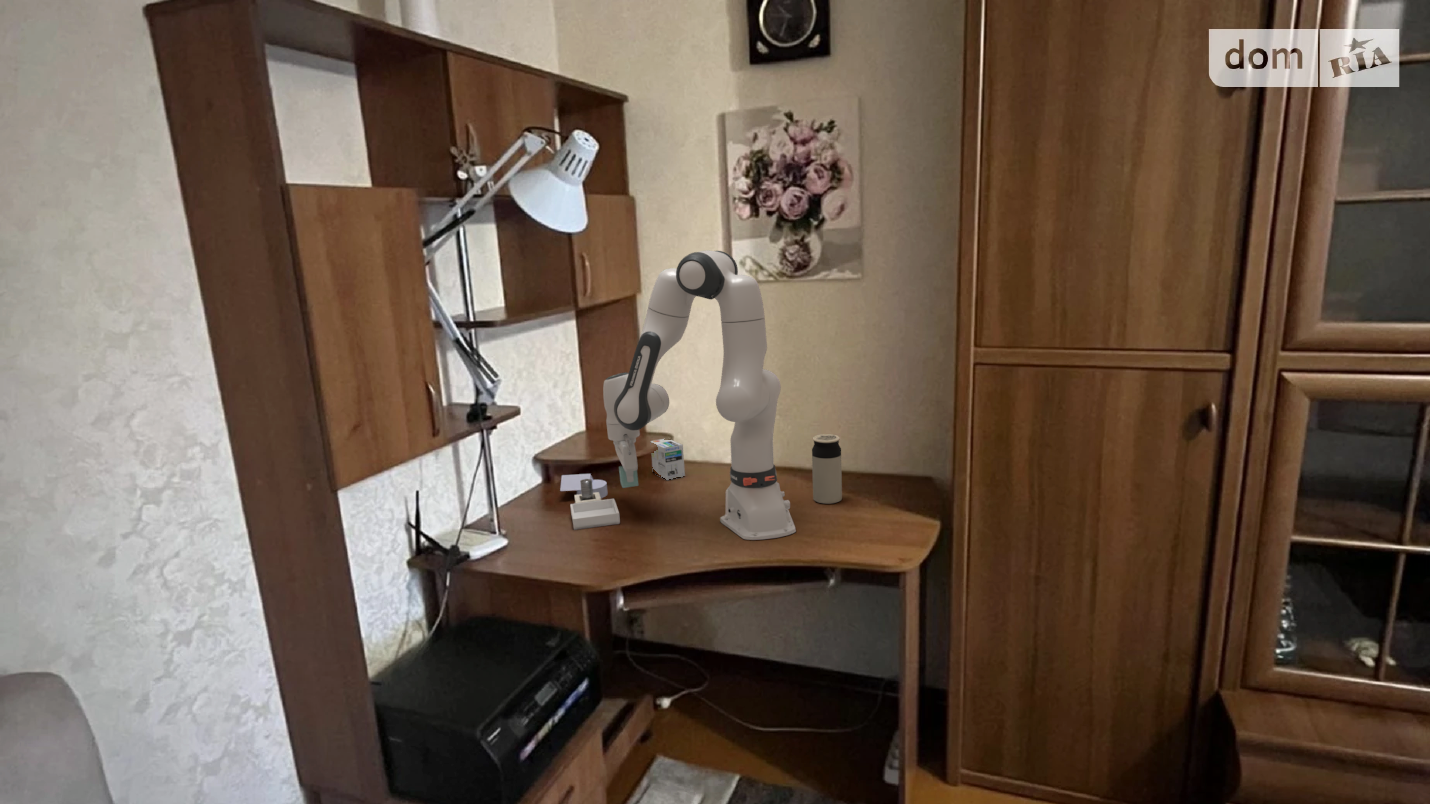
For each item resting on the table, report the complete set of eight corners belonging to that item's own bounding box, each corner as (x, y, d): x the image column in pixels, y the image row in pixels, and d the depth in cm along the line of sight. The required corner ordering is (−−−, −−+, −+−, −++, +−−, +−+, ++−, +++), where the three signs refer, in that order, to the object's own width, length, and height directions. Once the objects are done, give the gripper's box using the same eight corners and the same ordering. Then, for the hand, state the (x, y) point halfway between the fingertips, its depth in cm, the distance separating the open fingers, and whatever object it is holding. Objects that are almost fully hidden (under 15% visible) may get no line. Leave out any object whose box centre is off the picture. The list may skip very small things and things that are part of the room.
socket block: (602, 509, 218) (601, 499, 218) (576, 513, 217) (575, 503, 216) (599, 501, 225) (598, 492, 224) (575, 505, 223) (574, 495, 223)
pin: (594, 508, 220) (592, 481, 218) (583, 510, 219) (580, 483, 217) (593, 504, 223) (591, 478, 221) (582, 506, 222) (579, 479, 220)
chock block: (638, 485, 217) (636, 468, 216) (622, 488, 216) (620, 470, 215) (636, 481, 221) (634, 464, 220) (620, 483, 220) (618, 466, 219)
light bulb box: (685, 477, 244) (683, 443, 241) (666, 481, 241) (664, 447, 238) (670, 469, 253) (668, 437, 251) (651, 473, 250) (649, 440, 247)
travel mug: (847, 501, 215) (846, 438, 211) (822, 506, 212) (820, 443, 208) (832, 493, 222) (831, 432, 218) (808, 497, 219) (806, 436, 215)
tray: (620, 523, 207) (619, 513, 206) (573, 529, 204) (572, 519, 204) (614, 508, 219) (614, 498, 218) (571, 514, 216) (570, 504, 215)
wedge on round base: (561, 502, 227) (605, 499, 227) (559, 480, 225) (603, 477, 226) (566, 491, 236) (609, 489, 236) (564, 470, 234) (607, 468, 234)
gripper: (640, 437, 206) (645, 487, 209) (630, 422, 226) (635, 467, 228) (616, 440, 205) (622, 490, 208) (608, 425, 224) (613, 470, 227)
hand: (628, 478), depth 218 cm, fingers closed on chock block, 4 cm apart
